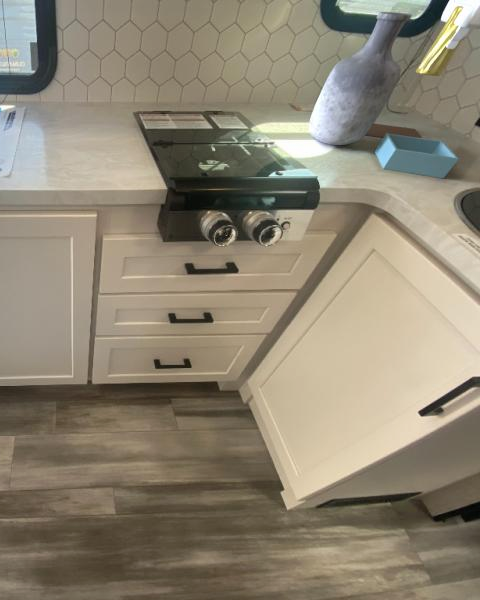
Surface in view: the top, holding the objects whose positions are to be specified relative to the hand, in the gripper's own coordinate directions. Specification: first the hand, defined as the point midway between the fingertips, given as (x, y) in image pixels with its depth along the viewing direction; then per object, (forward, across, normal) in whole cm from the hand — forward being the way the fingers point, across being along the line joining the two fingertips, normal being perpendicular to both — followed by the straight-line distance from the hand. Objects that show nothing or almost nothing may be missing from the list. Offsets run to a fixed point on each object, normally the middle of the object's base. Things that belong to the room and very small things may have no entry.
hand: (445, 46), depth 92 cm
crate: (+23, -24, 0) cm, 33 cm away
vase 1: (+23, -14, +18) cm, 33 cm away
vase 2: (+6, 0, 0) cm, 6 cm away
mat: (+23, +4, 0) cm, 24 cm away
